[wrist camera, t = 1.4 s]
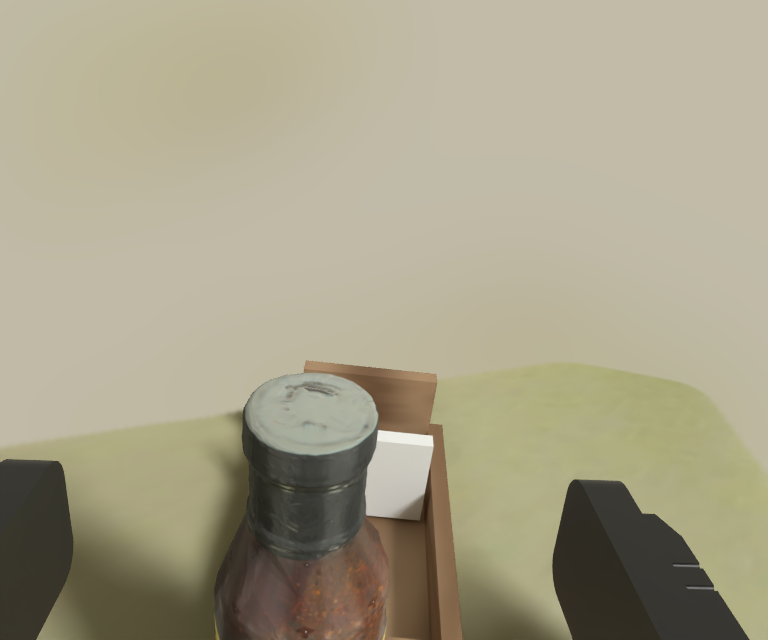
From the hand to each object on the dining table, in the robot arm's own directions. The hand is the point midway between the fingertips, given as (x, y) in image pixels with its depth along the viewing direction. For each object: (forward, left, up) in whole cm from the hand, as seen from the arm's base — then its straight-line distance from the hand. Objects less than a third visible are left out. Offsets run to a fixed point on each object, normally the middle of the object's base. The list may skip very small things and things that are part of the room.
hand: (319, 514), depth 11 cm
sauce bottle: (0, +9, -24) cm, 26 cm away
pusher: (+2, +23, -22) cm, 32 cm away
